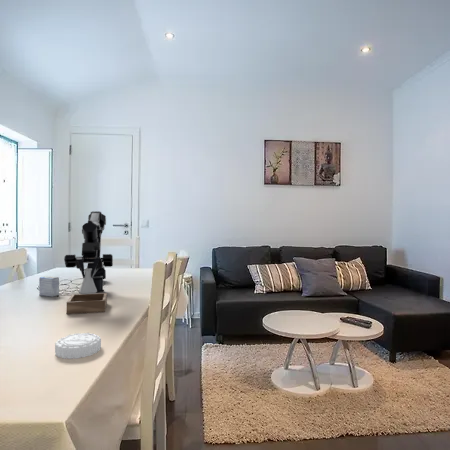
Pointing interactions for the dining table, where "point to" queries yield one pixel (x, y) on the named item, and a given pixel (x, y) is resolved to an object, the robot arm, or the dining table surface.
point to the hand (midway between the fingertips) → (87, 277)
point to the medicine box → (49, 286)
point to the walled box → (86, 303)
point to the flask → (87, 283)
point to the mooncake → (77, 345)
